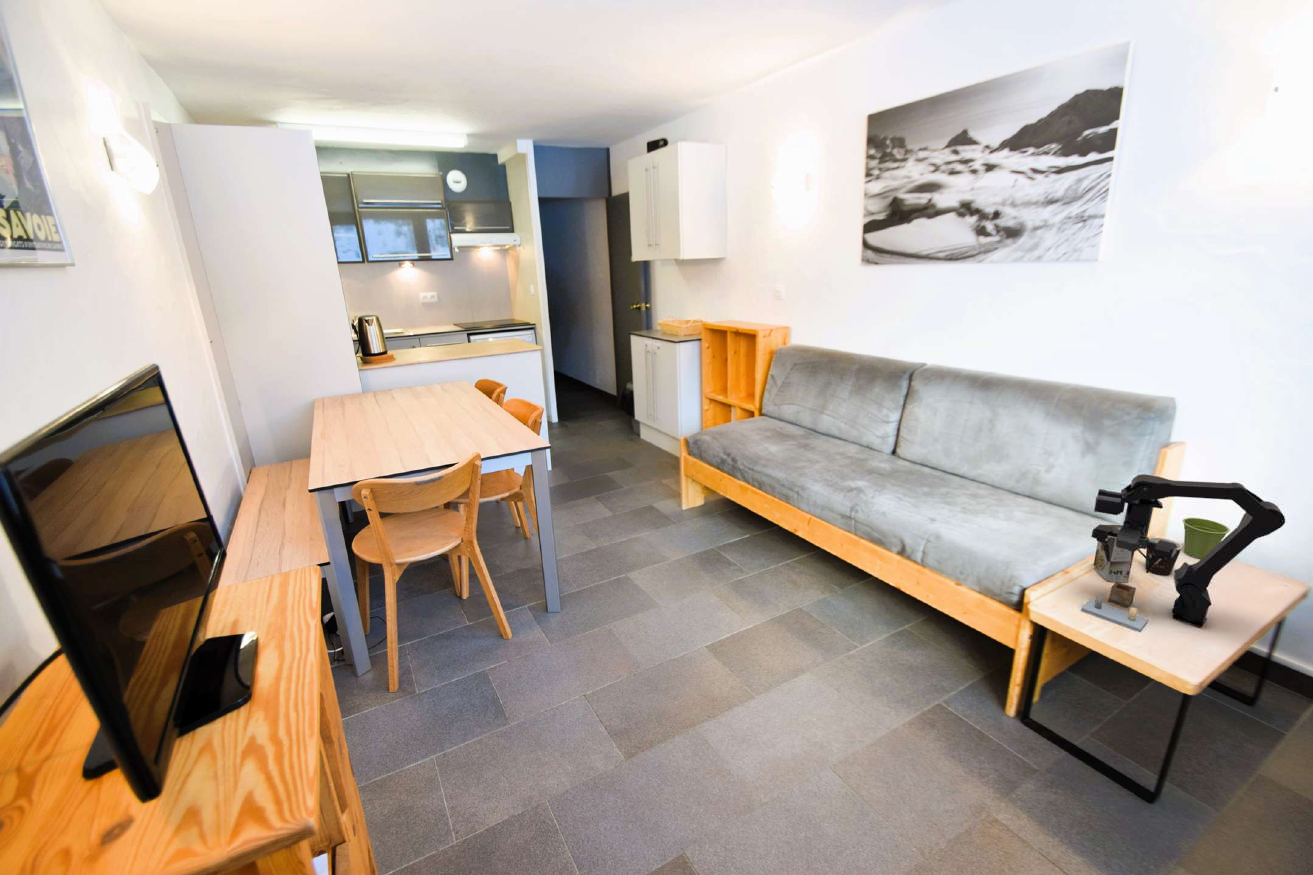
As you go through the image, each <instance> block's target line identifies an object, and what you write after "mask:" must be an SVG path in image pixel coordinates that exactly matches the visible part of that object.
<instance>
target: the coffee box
mask: <svg viewBox="0 0 1313 875" xmlns="http://www.w3.org/2000/svg"><path fill="white" fill-rule="evenodd" d="M1104 525H1105V526H1109V527H1113V528H1114V532H1117V533H1119V531H1120V529H1121V528H1122V526H1123V524H1104ZM1134 555H1135V552H1132V551H1129V550H1127V549H1123V548H1118V547H1116V539H1114V540H1113V548H1112V556H1111V560H1110V561H1109V562H1108V561H1107V558H1106V554H1105V550H1104V547H1103V545H1102V544H1101V543H1100V542H1098V541H1097V545H1096V551H1095V556H1094V560H1093V564H1092V567H1093V566H1094V569H1095V572H1096V573H1097V574H1098V575H1100V576H1101V578H1103V579H1104V580H1105V581H1106V582H1112V583H1113V582H1114V583H1116V582H1119V583H1123V584H1127V583H1128V582H1129V578H1130V573H1131V569H1132V566H1133V561H1134ZM1094 569H1093V570H1094Z"/></svg>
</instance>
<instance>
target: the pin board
mask: <svg viewBox="0 0 1313 875" xmlns="http://www.w3.org/2000/svg"><path fill="white" fill-rule="evenodd" d="M1103 601H1104V596H1102V595H1096V598H1095V600H1094V599H1091V598H1090V599H1088V600H1087V602H1085V603H1084V604H1083V605H1082V607H1081V608H1080V610H1081V612H1083V613H1085V614H1089V615H1091V616H1095V617H1097V618H1101V619H1102V620H1105V621H1108V622H1111V623H1114V624H1116V625H1119V626H1122V627H1125V628H1127V629H1130V630H1133V631H1136V632H1138V633H1141V632H1142V631H1143V630H1144V628H1145V627H1146V626H1147V624H1148V622H1149V619H1148V618H1145V617H1143V616H1141V615H1138V614H1137V613H1138V608H1136V607H1133V606H1130V607H1129V610H1128V611H1125V610H1123V609H1120V608H1117V607H1114V606H1111V605H1108V604H1105V603H1104V602H1103Z"/></svg>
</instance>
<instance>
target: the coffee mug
mask: <svg viewBox="0 0 1313 875" xmlns="http://www.w3.org/2000/svg"><path fill="white" fill-rule="evenodd" d="M1148 538H1149V541H1151V542H1155V543H1158V542H1159V540H1163V541H1167V542H1171V543H1175V544H1176V545H1177V551H1176V553H1175V555H1174V556H1173V557H1172V558H1171V559H1168V558H1166V559H1159V560H1158V561H1157V562H1156V563H1155V564H1154V566H1153V567H1152V568H1151V570H1150V571H1149V572H1148V573H1150V574H1153V575H1155V576H1161V577H1169V576H1171V574H1172V572H1173V570H1174V567H1175V564H1176V562H1177V560H1178V558H1179V555H1180V552H1181V550H1182V548H1183V546H1182V545H1181V544H1180V543H1179V542H1177V541H1174V540H1170V539H1169V538H1168V539H1167V538H1162V537H1148ZM1145 551H1146V552H1145V553H1146V554H1144V552H1143V551H1142V550H1141V549H1138V548H1137V552H1138V553H1139V554H1140V555H1141V556H1142V557H1143V558H1144V559H1145V567H1144V569H1145V571H1146V570H1147V567H1148V564H1149V562H1150V559H1151V555H1152V554H1153V553H1154V549H1151V548H1146V549H1145Z"/></svg>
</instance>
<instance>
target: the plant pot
mask: <svg viewBox="0 0 1313 875" xmlns="http://www.w3.org/2000/svg"><path fill="white" fill-rule="evenodd" d="M1182 523H1183V528H1184V541H1183V543H1184V544H1183V552H1184V553H1185V554H1186V555H1190V557H1193V558H1195V559H1200V560H1201V559H1202V558H1203V557H1204V556H1205V555H1207V554H1208V553H1209V552H1210V551H1211V550H1212V549H1213V548H1214V547H1216V546H1217V545H1218V544H1219V543H1220V542H1221V541H1222V540H1223V539H1224V538H1226V535H1227V534H1228V533H1230V531H1231V529H1230V528H1229V527H1228V526H1227V525H1225V524H1223V523H1221V522H1217V521H1214V520H1211V519H1207V518H1200V517H1186V518H1183V519H1182Z"/></svg>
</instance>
